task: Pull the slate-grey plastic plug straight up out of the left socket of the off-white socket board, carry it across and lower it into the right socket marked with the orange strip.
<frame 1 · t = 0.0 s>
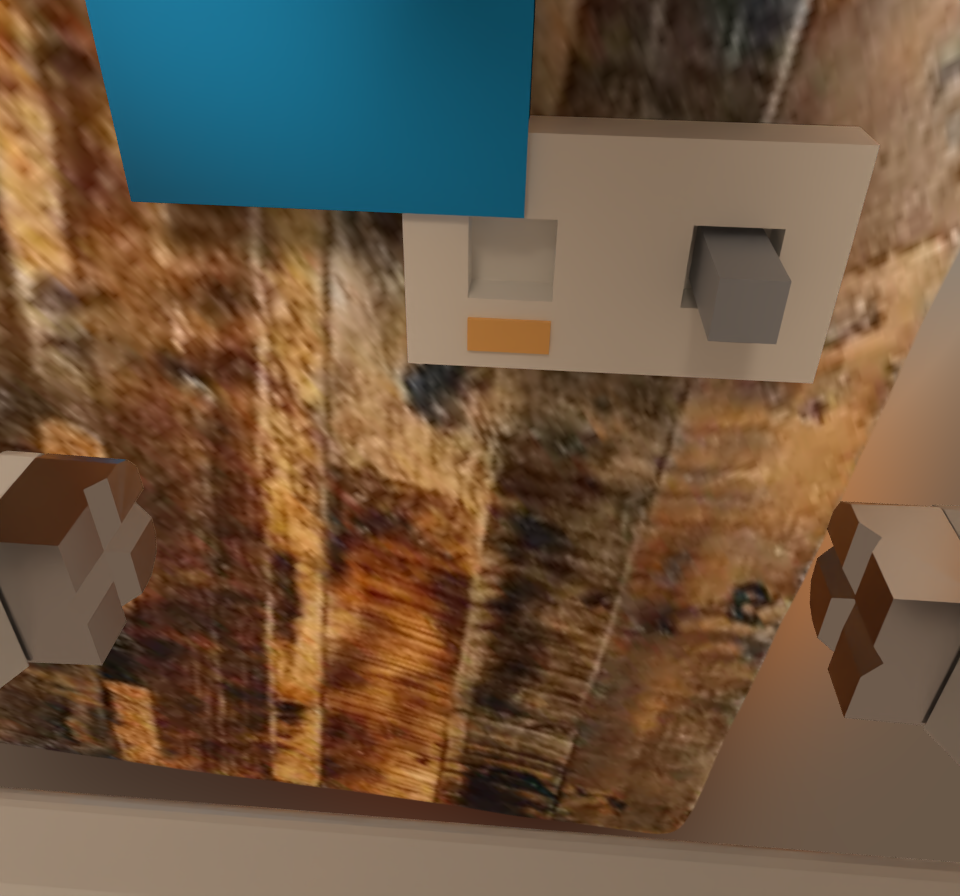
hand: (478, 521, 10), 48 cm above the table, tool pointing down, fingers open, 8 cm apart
book: (328, 58, 52), point 1 cm above the table, touching socket board
plug: (723, 251, 56), point 1 cm above the table, touching socket board
socket board: (617, 241, 58), on the table
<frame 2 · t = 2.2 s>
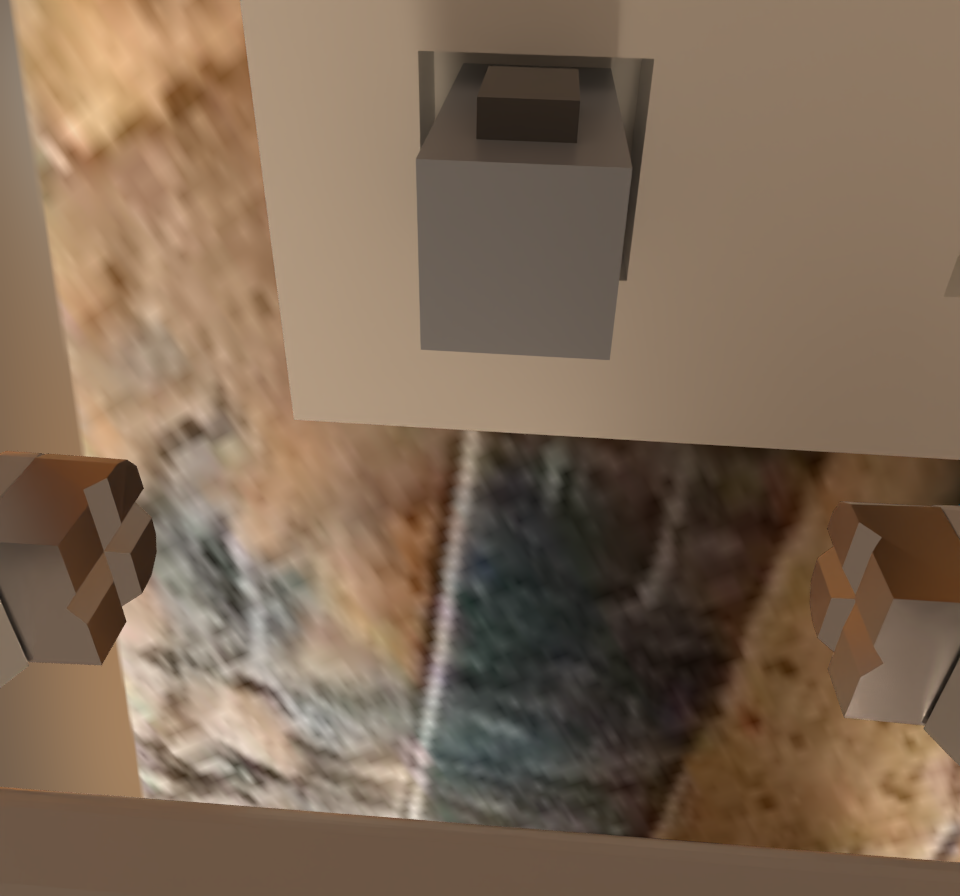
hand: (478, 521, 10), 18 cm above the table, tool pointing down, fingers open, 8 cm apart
plug: (533, 141, 24), point 1 cm above the table, touching socket board
socket board: (775, 141, 25), on the table
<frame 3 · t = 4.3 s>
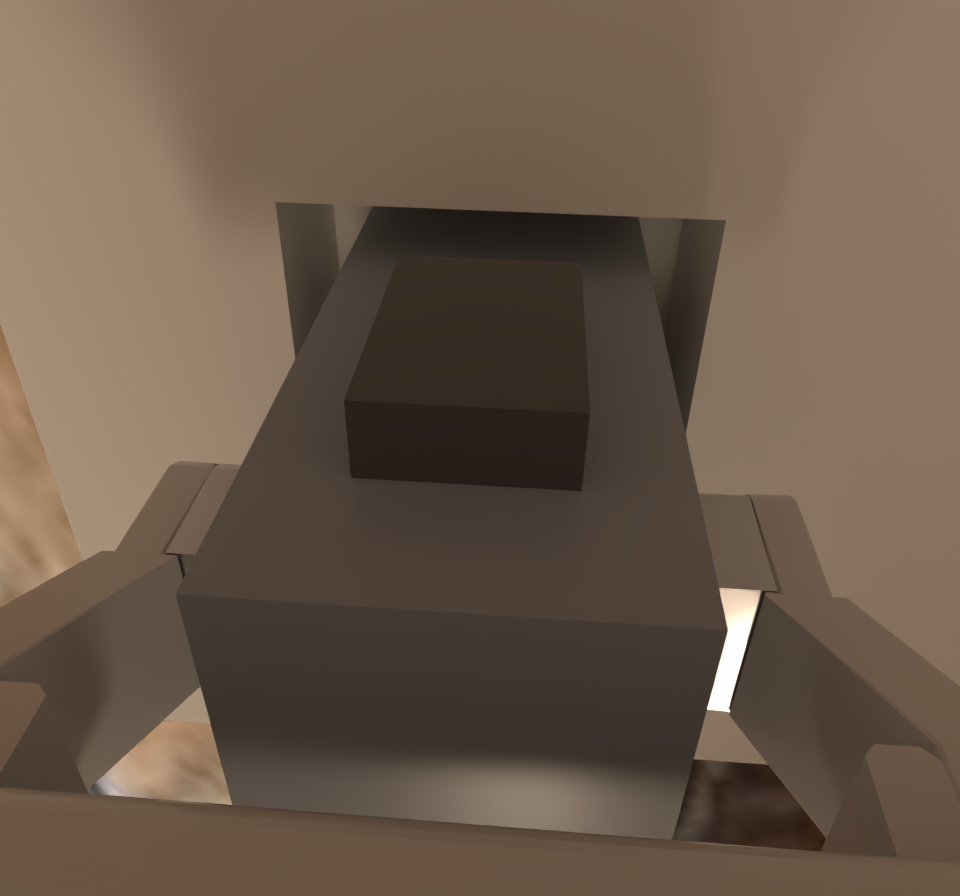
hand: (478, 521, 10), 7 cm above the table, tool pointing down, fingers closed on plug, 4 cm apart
plug: (503, 308, 15), point 1 cm above the table, touching gripper, socket board
socket board: (900, 301, 15), on the table
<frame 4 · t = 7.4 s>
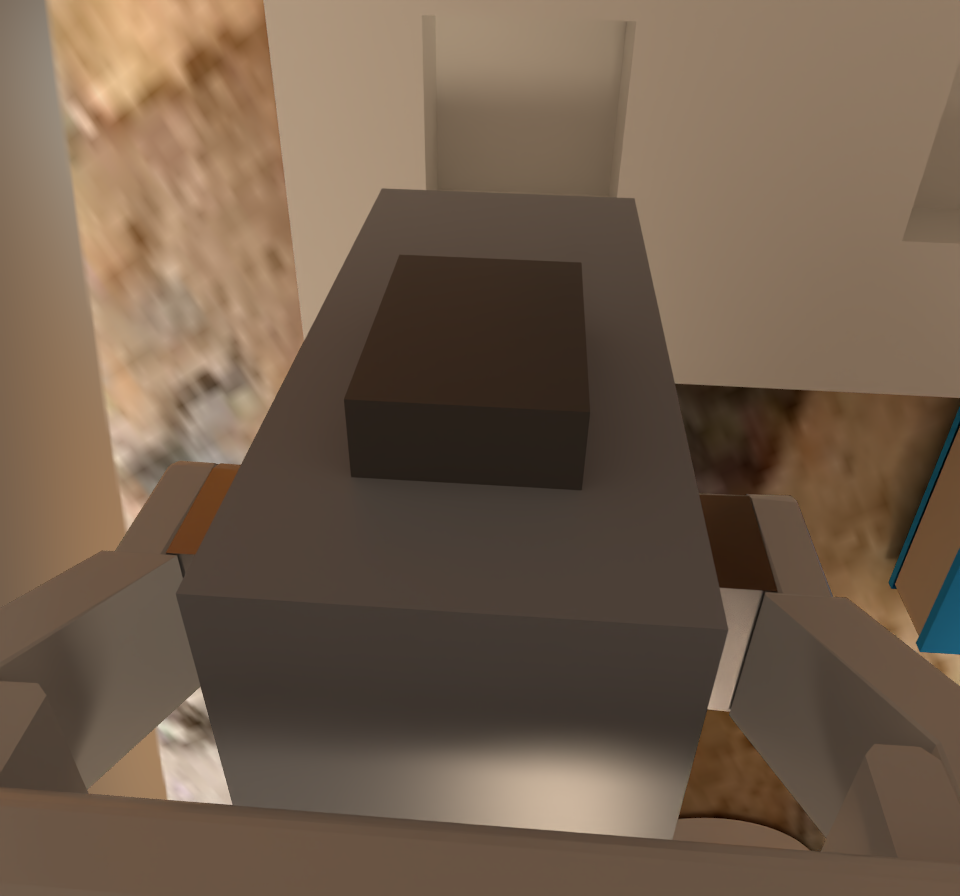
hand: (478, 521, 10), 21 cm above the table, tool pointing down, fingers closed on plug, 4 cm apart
plug: (503, 308, 15), point 15 cm above the table, touching gripper
socket board: (750, 102, 27), on the table
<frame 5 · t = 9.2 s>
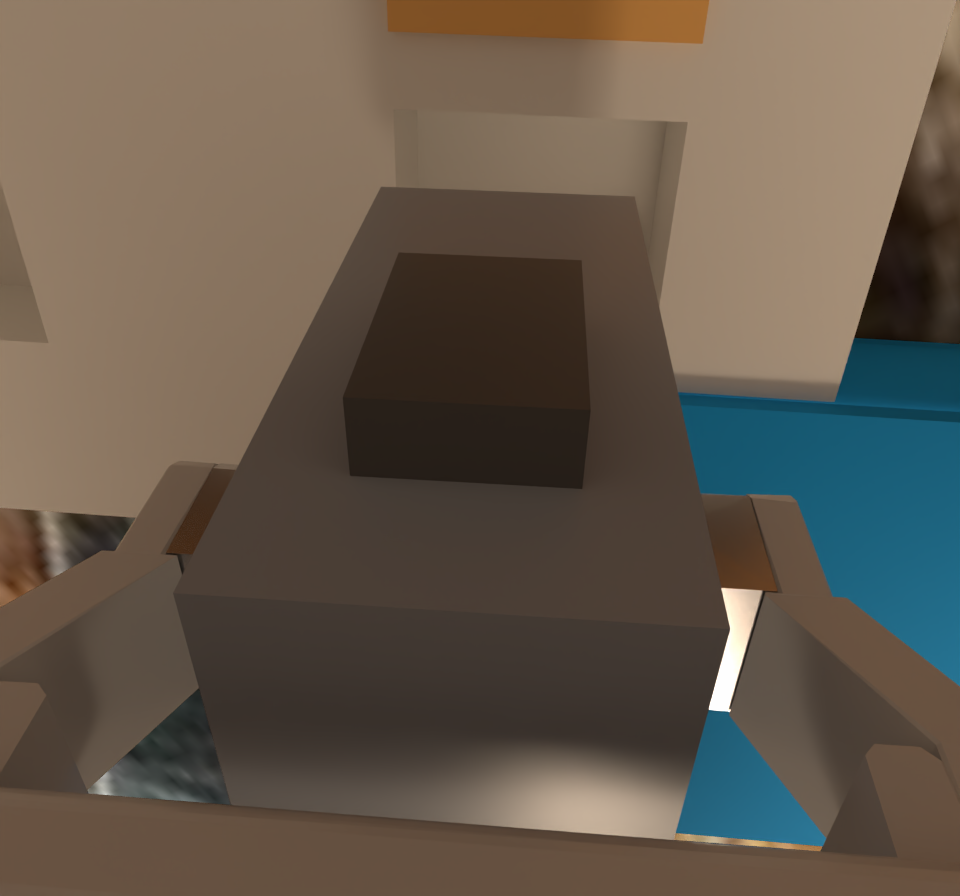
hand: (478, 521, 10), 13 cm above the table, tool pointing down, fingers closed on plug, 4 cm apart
plug: (503, 307, 15), point 8 cm above the table, touching gripper
socket board: (259, 180, 21), on the table
when the fingers open (8 cm above the table, at t = 10.9 s): plug stays where it is, resting on socket board.
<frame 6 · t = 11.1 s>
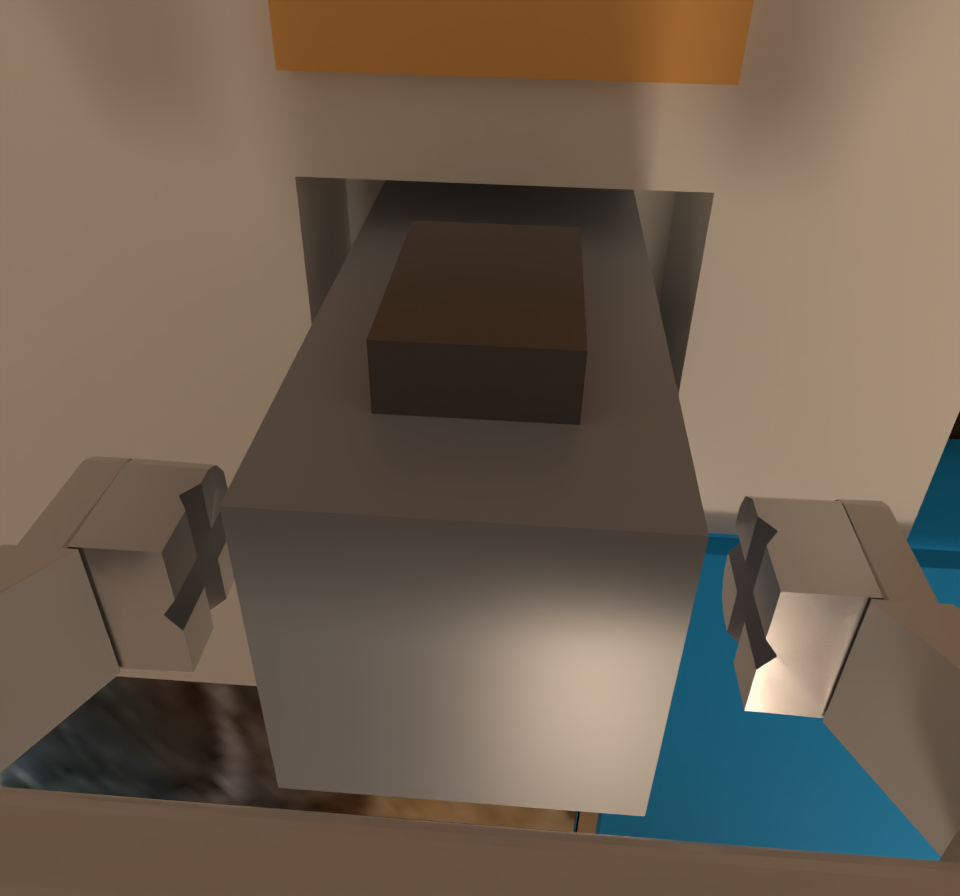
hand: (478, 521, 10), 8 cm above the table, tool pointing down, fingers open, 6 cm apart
plug: (506, 283, 15), point 1 cm above the table, touching socket board
socket board: (150, 246, 17), on the table
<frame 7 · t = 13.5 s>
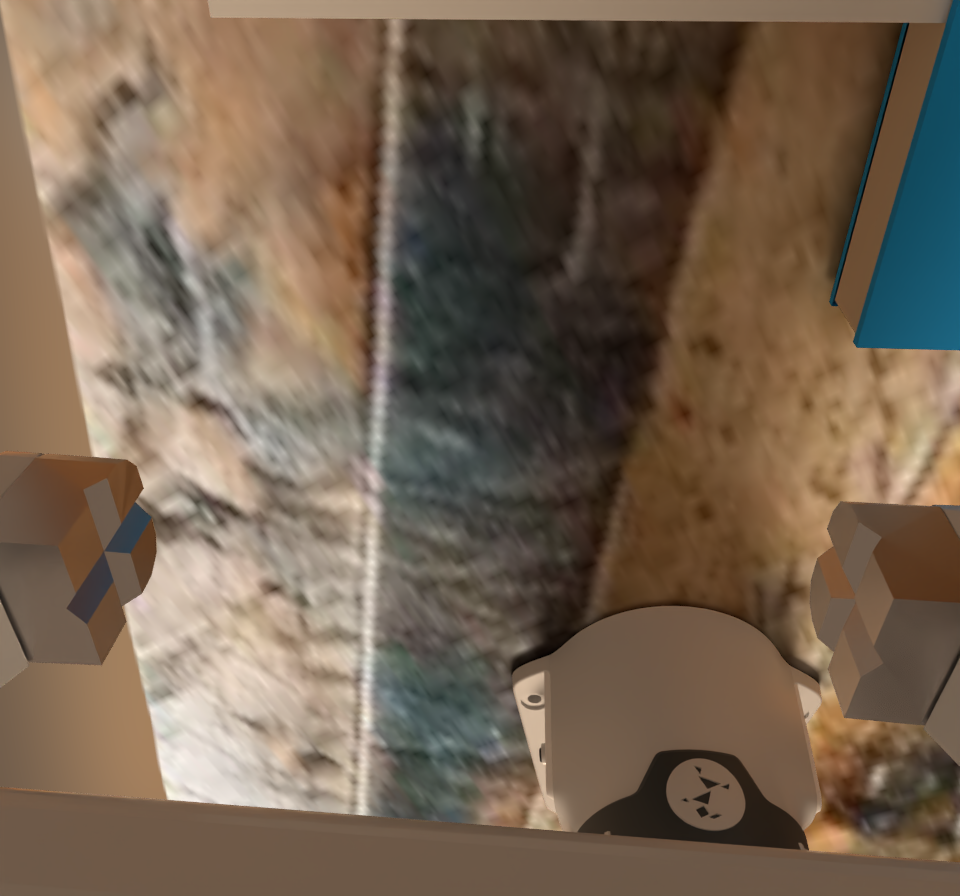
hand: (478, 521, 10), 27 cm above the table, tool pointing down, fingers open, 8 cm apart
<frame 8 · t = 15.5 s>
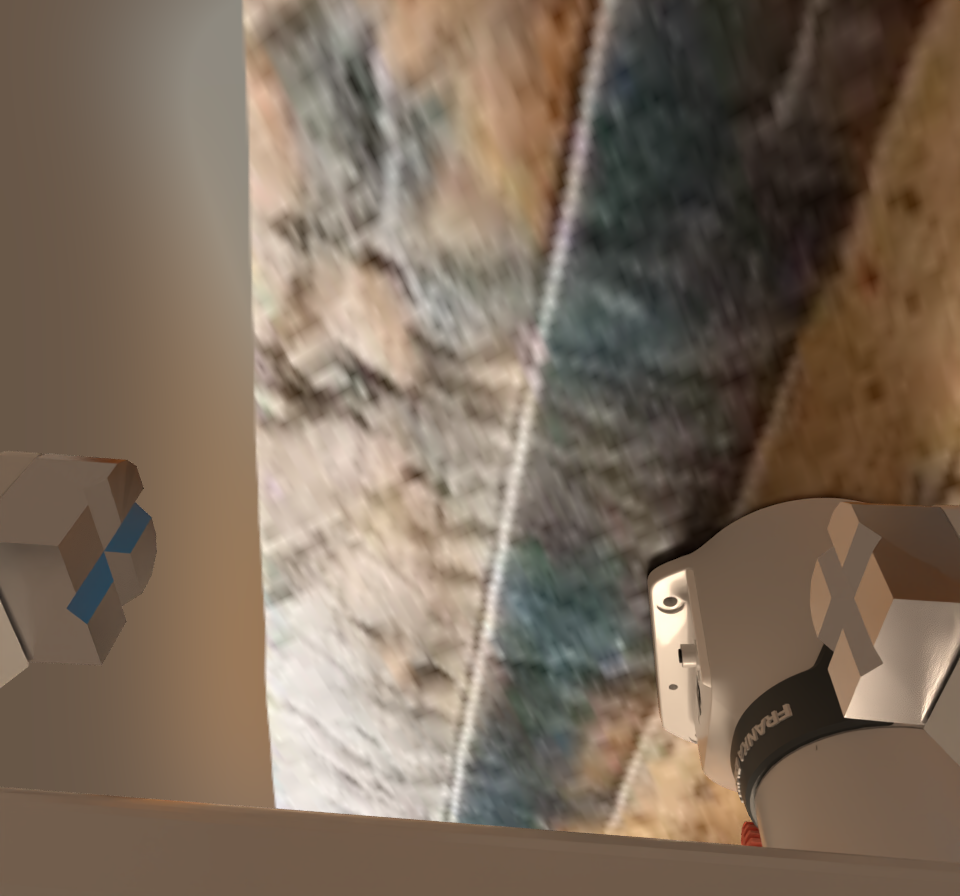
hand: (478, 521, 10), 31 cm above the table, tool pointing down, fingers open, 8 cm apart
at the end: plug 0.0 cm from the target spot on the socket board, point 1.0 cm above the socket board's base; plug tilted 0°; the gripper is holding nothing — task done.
